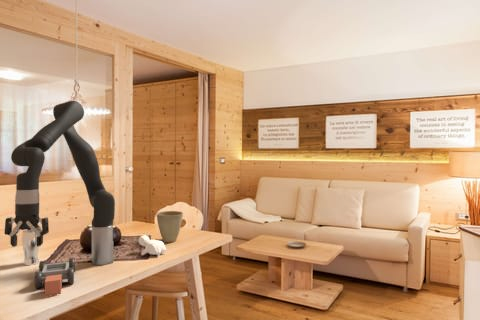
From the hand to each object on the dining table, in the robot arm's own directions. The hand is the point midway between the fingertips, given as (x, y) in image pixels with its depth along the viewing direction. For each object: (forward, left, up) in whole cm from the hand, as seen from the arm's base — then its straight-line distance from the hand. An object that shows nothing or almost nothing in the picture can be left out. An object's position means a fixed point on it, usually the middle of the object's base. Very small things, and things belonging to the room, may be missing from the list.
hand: (26, 246), depth 127 cm
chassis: (-9, -11, -17) cm, 22 cm away
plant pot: (-64, -51, -18) cm, 83 cm away
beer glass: (+3, -36, -18) cm, 40 cm away
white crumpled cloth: (-50, -30, -18) cm, 61 cm away
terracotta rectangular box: (-9, +3, -17) cm, 20 cm away
